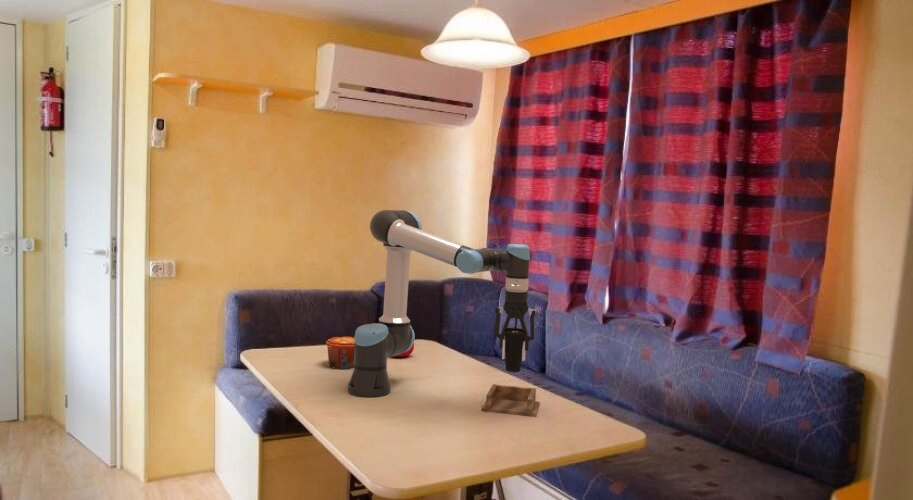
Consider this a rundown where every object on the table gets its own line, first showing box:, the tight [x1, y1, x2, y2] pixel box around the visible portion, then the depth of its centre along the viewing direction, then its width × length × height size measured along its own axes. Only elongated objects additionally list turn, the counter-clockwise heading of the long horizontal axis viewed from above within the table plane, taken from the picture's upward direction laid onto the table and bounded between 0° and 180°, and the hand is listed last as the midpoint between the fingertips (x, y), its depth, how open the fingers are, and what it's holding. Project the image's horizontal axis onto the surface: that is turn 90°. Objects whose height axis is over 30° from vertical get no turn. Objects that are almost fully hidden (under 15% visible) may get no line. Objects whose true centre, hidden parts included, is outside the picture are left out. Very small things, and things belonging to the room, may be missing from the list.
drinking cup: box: [504, 318, 526, 373], centre depth 217 cm, size 8×8×20 cm
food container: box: [325, 336, 355, 370], centre depth 267 cm, size 16×16×11 cm
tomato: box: [393, 342, 415, 358], centre depth 287 cm, size 12×13×12 cm
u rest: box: [480, 383, 541, 417], centre depth 219 cm, size 18×14×6 cm
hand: (513, 358), depth 218 cm, fingers closed on drinking cup, 6 cm apart
